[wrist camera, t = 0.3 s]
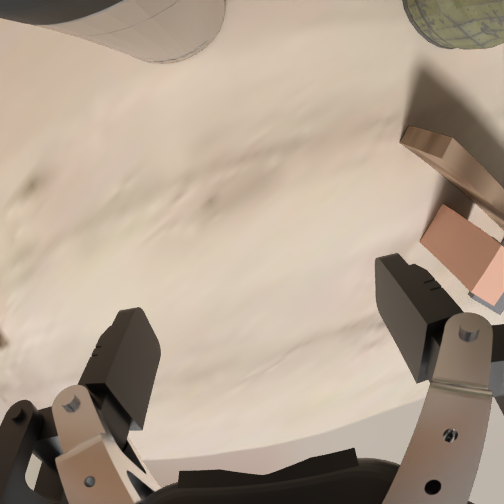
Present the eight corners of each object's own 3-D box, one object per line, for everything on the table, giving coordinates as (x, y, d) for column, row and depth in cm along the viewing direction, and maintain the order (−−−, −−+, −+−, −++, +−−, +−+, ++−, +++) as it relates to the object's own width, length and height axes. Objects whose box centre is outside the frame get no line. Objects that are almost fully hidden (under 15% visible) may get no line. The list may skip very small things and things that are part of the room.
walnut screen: (399, 142, 27) (441, 158, 20) (408, 125, 26) (452, 137, 20) (506, 233, 32) (540, 258, 26) (513, 221, 32) (548, 244, 25)
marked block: (419, 241, 32) (470, 292, 23) (443, 202, 30) (502, 243, 21) (445, 257, 33) (493, 306, 24) (467, 221, 31) (522, 263, 22)
